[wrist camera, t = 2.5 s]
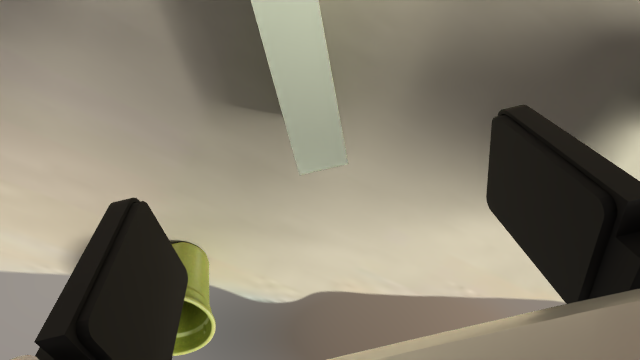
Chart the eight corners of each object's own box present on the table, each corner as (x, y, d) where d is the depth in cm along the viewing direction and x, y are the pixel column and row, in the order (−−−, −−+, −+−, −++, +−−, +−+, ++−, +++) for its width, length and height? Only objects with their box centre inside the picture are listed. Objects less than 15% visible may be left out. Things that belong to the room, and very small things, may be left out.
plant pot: (196, 298, 46) (184, 366, 39) (120, 269, 42) (91, 339, 35) (239, 252, 43) (234, 317, 36) (161, 215, 39) (138, 280, 32)
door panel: (285, -109, 25) (295, -127, 17) (328, 107, 34) (348, 164, 26) (235, -97, 25) (220, -109, 17) (291, 116, 34) (299, 175, 26)
